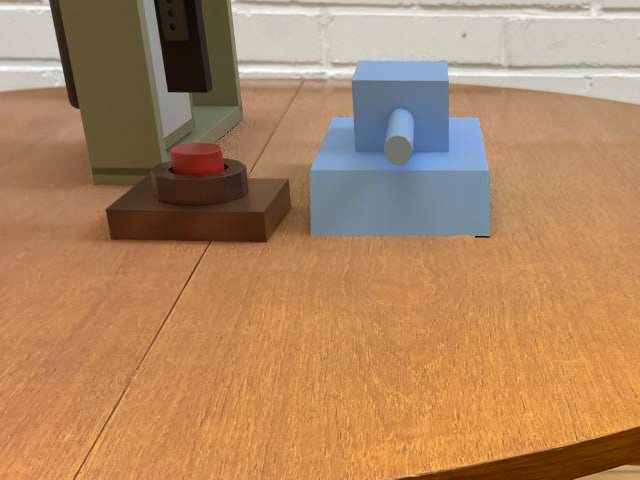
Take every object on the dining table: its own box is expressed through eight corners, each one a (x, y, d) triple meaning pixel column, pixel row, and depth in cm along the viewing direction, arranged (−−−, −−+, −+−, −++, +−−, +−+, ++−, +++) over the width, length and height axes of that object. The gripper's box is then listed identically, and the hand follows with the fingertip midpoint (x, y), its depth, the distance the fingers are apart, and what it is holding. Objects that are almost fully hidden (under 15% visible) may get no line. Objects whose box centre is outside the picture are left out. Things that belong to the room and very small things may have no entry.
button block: (111, 240, 68) (99, 182, 66) (151, 204, 75) (142, 151, 73) (267, 243, 68) (261, 185, 65) (291, 207, 75) (286, 154, 73)
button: (166, 179, 68) (163, 153, 67) (181, 166, 71) (177, 142, 70) (217, 180, 68) (214, 154, 67) (230, 167, 71) (227, 142, 70)
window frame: (94, 184, 80) (45, -64, 71) (188, 117, 104) (161, -75, 95) (165, 186, 80) (127, -63, 71) (243, 118, 104) (222, -74, 95)
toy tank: (493, 105, 64) (298, 103, 64) (491, 242, 69) (310, 242, 69) (479, 53, 83) (328, 52, 82) (478, 164, 88) (335, 163, 87)
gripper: (157, -383, 49) (220, 109, 61) (222, -332, 60) (264, 75, 72) (10, -383, 49) (102, 108, 61) (102, -332, 60) (164, 75, 72)
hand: (190, 90), depth 67 cm, fingers closed
